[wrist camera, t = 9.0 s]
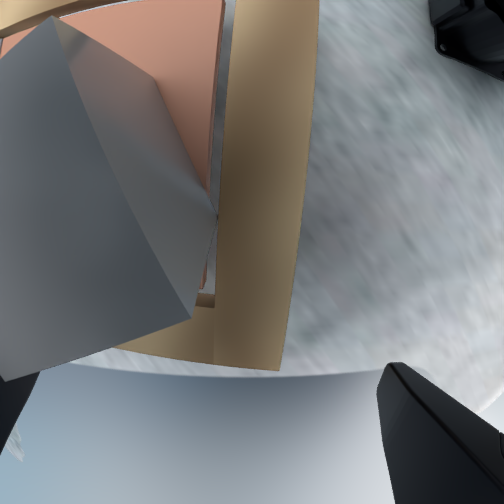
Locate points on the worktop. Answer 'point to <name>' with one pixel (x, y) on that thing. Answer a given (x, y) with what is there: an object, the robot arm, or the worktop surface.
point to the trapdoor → (165, 60)
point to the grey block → (90, 204)
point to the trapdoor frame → (242, 181)
